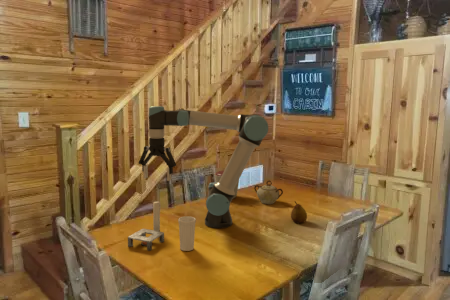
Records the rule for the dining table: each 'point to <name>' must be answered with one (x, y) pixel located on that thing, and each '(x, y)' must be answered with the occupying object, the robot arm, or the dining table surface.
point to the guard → (142, 237)
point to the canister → (217, 178)
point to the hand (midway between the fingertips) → (157, 179)
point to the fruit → (298, 214)
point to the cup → (187, 232)
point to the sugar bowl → (268, 193)
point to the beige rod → (156, 216)
